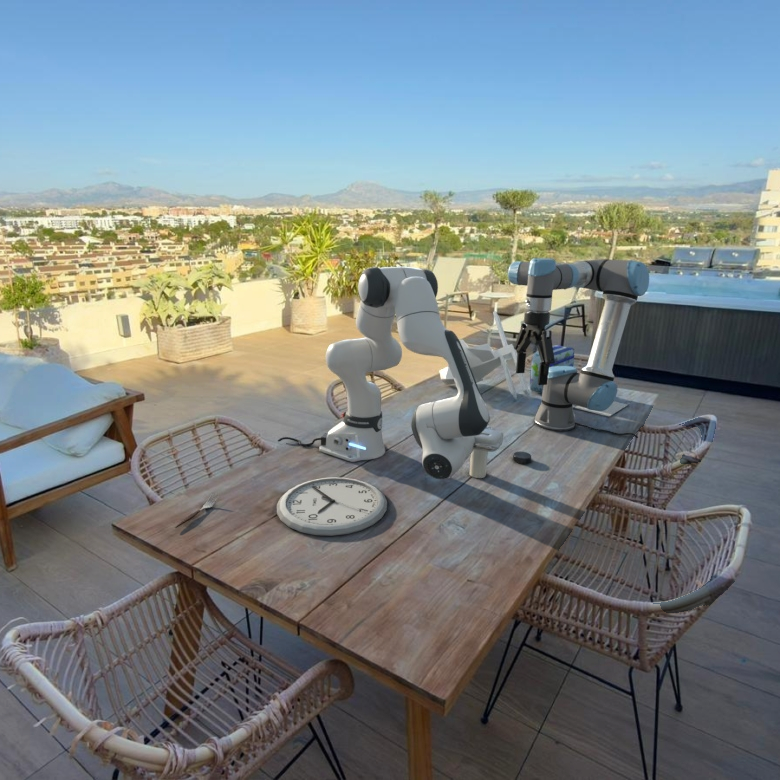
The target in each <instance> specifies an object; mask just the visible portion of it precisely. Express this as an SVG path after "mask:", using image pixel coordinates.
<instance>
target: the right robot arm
mask: <svg viewBox="0 0 780 780" xmlns="http://www.w3.org/2000/svg"><path fill="white" fill-rule="evenodd" d="M556 261H557V260H555V259H554V258H543V257H542V258H540V257H539V258H538V257H537V258H532V259H530V261H523V260H521V261H518V260H517V261H514V262H512V263H511V264H510V265H509V267H508V270H507V279H508V281H509V283H511V284H513V285H517V286H526V294H525V296H526V297H525V301H524V303H525V305H524V306H525V307H524V309H525V311H524V315H523V323H521V324H520V328H519V332H518V335H517V338H516V340H515V343H514V345H513V346H514V349H515V350H516V352H517V365H516V366H515V373H516V374H518V373H523V374H525V370H526V362H527V361H526V360H527V349H528V348H529V346H530V345H531V343H533V344H534V345H535V346H536V348H537V351H538V352H539V355H540V359H541V363H540V367H539V377H538V385H543V391H542V393H541V402H540V405H538V407H537V409H538V410H537V411H536V413H535V417H534V424H535V425H536V426H537V427H539V428H542V429H544V430H549V431H556V432H567V431H572V430H574V429H575V428H576V426H579V427H583V428H586V429H590V430H593V431H596V432H602V433H608V434H612V435H615V436H633V437H634V438H636V439H639V436H638V435H637V434H636V433H633V432H615V431H612V430H608V429H601V428H596V427H592V426H589V425H586V424H582V423H579V422H576V418H575V417H576V416H575V413H574V407H573V405H574V406H581V407H584V408H587V409H589V410H595V411H604V410H606V409H607V408H608V407H610V406H611V404H612V403H613V401H614V402H615V399H616V397H617V395H618V384H617V382H615V381H614V380H615V375H614V373H613V368H614V363H615V362H616V357H617V353H618V350H619V347H620V344H621V341H622V337H623V333H624V330H625V326H626V323H627V319H628V317H629V316H628V315H629V312H630V309H631V306H633V305H634V304H636V303H637V301H638V298H639V297H642V296H645V294H646V292H647V291H648V289H649V285H650V272H649V268H648V266H647V265H646V264H645V263H644V262H642V261H638V260H633V259H630V260H628V259H627V260H626V259H608V258H599V259H588V260H577V261H575V262H574V263H571V262H556ZM573 287H574V288H577V289H587V290H592V291H596V292H600V293H601V292H602V294H601V295H602V298H603V300H604V304H603V306H602V310H601V314H600V318H599V321H598V325H597V329H596V331H595V336H594V339H593V343H592V346H591V350H590V353H589V357H588V360H587V364H586V366H584V367H582V368H581V369H580V372H579V373H578V368H577V367H576V366H573V367H572V366H554V367H550V368H549V365H550V364H554V363H555V359H554V353H553V346H554V345H553V339H552V330H546V327H547V326H548V325H550V320H551V312H550V311H552V304H553V303H552V302H553V292H554V291H557V290H568V289H572V288H573Z"/></svg>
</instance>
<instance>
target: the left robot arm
mask: <svg viewBox="0 0 780 780" xmlns="http://www.w3.org/2000/svg"><path fill="white" fill-rule="evenodd" d="M359 275H360V276H359V278H358V283H357V284H358V286H357V291H358V297H359V299H360V301H359V306H358V309H357V313H356V317H355V326H356V329H357V330H358V332H359V333H360V334H361V335H363V336H364V337H360V338H350V339H342V340H340V341H336V342H333V343H331V344H329V346H328V347H327V349H326V352H325V357H324V359H325V364H326V366H327V368H328V370H329V371H330V372H331V373H333V374H334V375H336V376H337V377H339V379H340V380H341V381H342V383H343V385H344V387H345V391H346V402H347V409H346V410H345V411H343V413H341V414H340V419H342V421H340V422H339V423H337V424H336V425H334V426H333V427H332V428H330V429H329V431H328V432H324V433H323V435H321V436H320V437H316V438H313V440H311V442H309V443H302V441H301V440H299V439H296V438H294V437H289V436H283V437H280V438H279V439H277V442H281V441H283V440H290V441H293V442H296V443H298V444H299V446H302V447H309V446H312V445H314V443H315V442H317V441H320V445H319V449H318V451H319V452H320V453H324V454H327V455H330V456H332V457H335V458H339V459H340V460H341V459H342V460H344V461H347V462H351V463H355V462H360V461H366V460H367V461H368V460H374V459H378V458H380V457H383V456H384V455H385V454H386V448H385V444H384V440H383V431H382V429H383V411H382V390H381V389H380V387H379V386H378V385H377V384H376V383H374V382H372V381H369V380H367V373H373V372H379V371H385V370H390V369H391V368H394V367H397V366H398V365H400V363H401V361H402V357H403V349H402V345H403V347H405V348H406V349H407V350H408V351H410V352H412V353H415V354H418V355H423V356H430V357H439V358H442V359H444V361H445V362H446V363H447V364H448V366H449V367H450V370H451V373H452V375H453V378H454V381H455V384H454V385H455V386H456V389H457V394H456V395H454V396H451V397H448V398H444V399H439V400H433V401H430V402H426V403H422V404H418V406H417V407H416V408H415V410H414V411H413V414H412V417H411V422H410V427H411V432H412V435H413V437H414V440H415V441H416V443H417V445H418V446H419V447H420V449H421V450H422V457H421V464H422V468H423V471H424V472H425V473H426V474H427V475H428V476H429V477H431V478H433V479H437V480H445V479H449V478H451V477H452V476H454V475H455V474H456V473H458V472H459V471H460V469H461V468H462V467H463V465H464V464H465V461H467V460H468V458H469V457H470V456H471V453H472V451H473V450H474V449H476V450H482V451H487V452H488V453H492V452H495V451H497V450H499V448H501V447H502V445H503V443H504V433H503V431H501V430H496V429H492V426H491V425H488V424H489V423H490V420H491V418H490V417H491V416H490V412H489V408H488V406H487V404H486V401H485V399H484V397H483V395H482V393H481V391H480V388H479V386H478V384H477V383H476V381H475V378H474V376H473V373H472V370H471V368H470V365H469V362H468V360H467V357H466V355H465V352H464V350H463V347H462V345H461V343H460V341H459V337H458V335H457V334H456V333H455V332H454V331H452V330H450V329H447V328H446V326H445V325H444V323H443V321H442V319H441V313H440V309H439V304H438V301H437V296H438V291H439V283H438V282H439V281H438V278H437V277H436V275H435V273H434V272H433V271H431V270H429V269H426V268H424V267H419V268H416V267H409V266H385V267H379V266H373V267H368V268H366V269H364V270H363V271H362V272H361V274H359ZM394 320H395V322H396V327H397V328H396V329H397V332H398V333H397V334H398V337H399V340H400V342H401V343H400V342H399V341H398V340H397V338H395V337H394V336H393V335H392V327H393V324H394ZM401 344H402V345H401ZM487 425H488V426H487Z"/></svg>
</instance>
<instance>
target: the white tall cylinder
mask: <svg viewBox="0 0 780 780" xmlns="http://www.w3.org/2000/svg"><path fill="white" fill-rule="evenodd" d="M487 426H490V425H489V423H488V425H487ZM488 453H489V452H487V451H482V450H476V449H474V450H473V451H472V453H471V454H470V456H469V457H470V458H469V460H470V461H469V473H468V474H469V476H470V477H471V478H474V479H482V478H485V477H486V476H487V467H488V456H489V454H488Z"/></svg>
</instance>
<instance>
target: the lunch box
mask: <svg viewBox="0 0 780 780" xmlns="http://www.w3.org/2000/svg"><path fill="white" fill-rule="evenodd" d="M552 346H553V353H554V359H555V363H554V364H550V365H549V368H550V367H554V366H572V367H574V363H575V348H573V347H571V346H570V347H568V346H563V345H552ZM540 363H541V359H540V355H539V352H538V350H536V351H535V352H534V354H533V356H532V358H531V363H530V374H529V391H532V392H536V393H540V394H542V391H543V385H538V377H539V367H540Z"/></svg>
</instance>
